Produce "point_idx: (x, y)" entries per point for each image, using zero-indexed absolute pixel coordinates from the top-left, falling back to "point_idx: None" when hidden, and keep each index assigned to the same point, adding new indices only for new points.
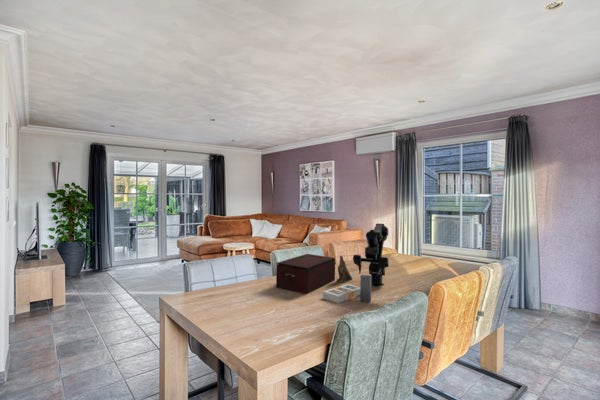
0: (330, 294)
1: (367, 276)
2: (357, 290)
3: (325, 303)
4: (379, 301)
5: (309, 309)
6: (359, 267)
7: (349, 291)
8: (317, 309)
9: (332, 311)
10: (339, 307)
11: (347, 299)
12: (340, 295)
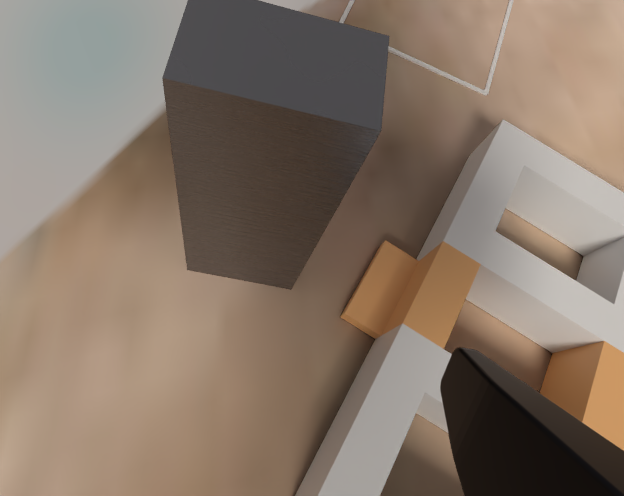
0: (583, 174)
1: (254, 28)
2: (363, 395)
3: (552, 136)
4: (88, 278)
5: (593, 27)
6: (577, 434)
7: (445, 287)
8: (553, 31)
9: (461, 9)
10: (438, 70)
11: (421, 251)
12: (494, 142)
